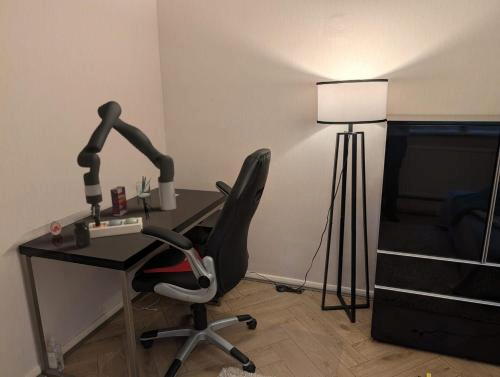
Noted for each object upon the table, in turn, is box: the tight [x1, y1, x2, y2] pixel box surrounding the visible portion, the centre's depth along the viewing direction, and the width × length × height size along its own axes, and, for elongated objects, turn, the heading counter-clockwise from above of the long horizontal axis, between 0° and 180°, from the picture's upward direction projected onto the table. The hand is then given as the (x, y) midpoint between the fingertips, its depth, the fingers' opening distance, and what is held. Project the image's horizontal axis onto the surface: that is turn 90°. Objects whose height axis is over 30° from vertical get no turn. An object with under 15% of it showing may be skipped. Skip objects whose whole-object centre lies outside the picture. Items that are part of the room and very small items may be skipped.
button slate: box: [108, 219, 121, 227], centre depth 182 cm, size 6×6×3 cm
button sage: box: [125, 217, 138, 225], centre depth 184 cm, size 6×6×3 cm
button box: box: [87, 217, 143, 239], centre depth 182 cm, size 26×12×4 cm, turn 105°
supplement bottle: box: [72, 219, 92, 249], centre depth 164 cm, size 7×7×12 cm
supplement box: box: [110, 185, 129, 217], centre depth 210 cm, size 9×5×16 cm, turn 168°
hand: (98, 225), depth 180 cm, fingers closed
